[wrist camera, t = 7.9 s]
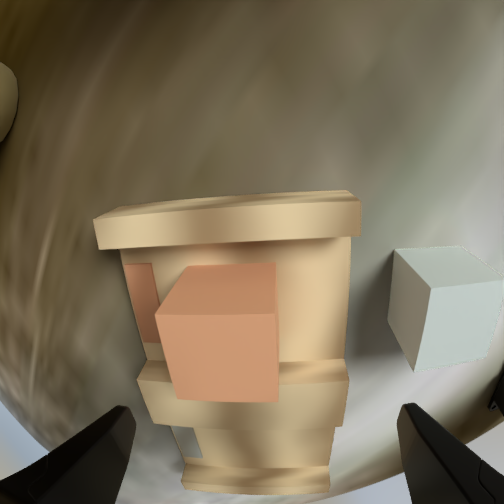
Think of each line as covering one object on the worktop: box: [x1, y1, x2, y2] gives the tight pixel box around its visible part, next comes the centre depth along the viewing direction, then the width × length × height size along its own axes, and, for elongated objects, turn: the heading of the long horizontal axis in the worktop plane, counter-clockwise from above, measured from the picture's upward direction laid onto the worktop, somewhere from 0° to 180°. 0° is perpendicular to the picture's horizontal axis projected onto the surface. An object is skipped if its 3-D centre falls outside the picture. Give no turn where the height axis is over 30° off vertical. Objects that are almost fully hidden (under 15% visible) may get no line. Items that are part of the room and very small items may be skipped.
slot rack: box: [93, 190, 361, 495], centre depth 18 cm, size 12×23×3 cm, turn 4°
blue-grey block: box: [387, 246, 504, 372], centre depth 14 cm, size 4×4×5 cm
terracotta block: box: [155, 262, 279, 402], centre depth 15 cm, size 4×4×5 cm
